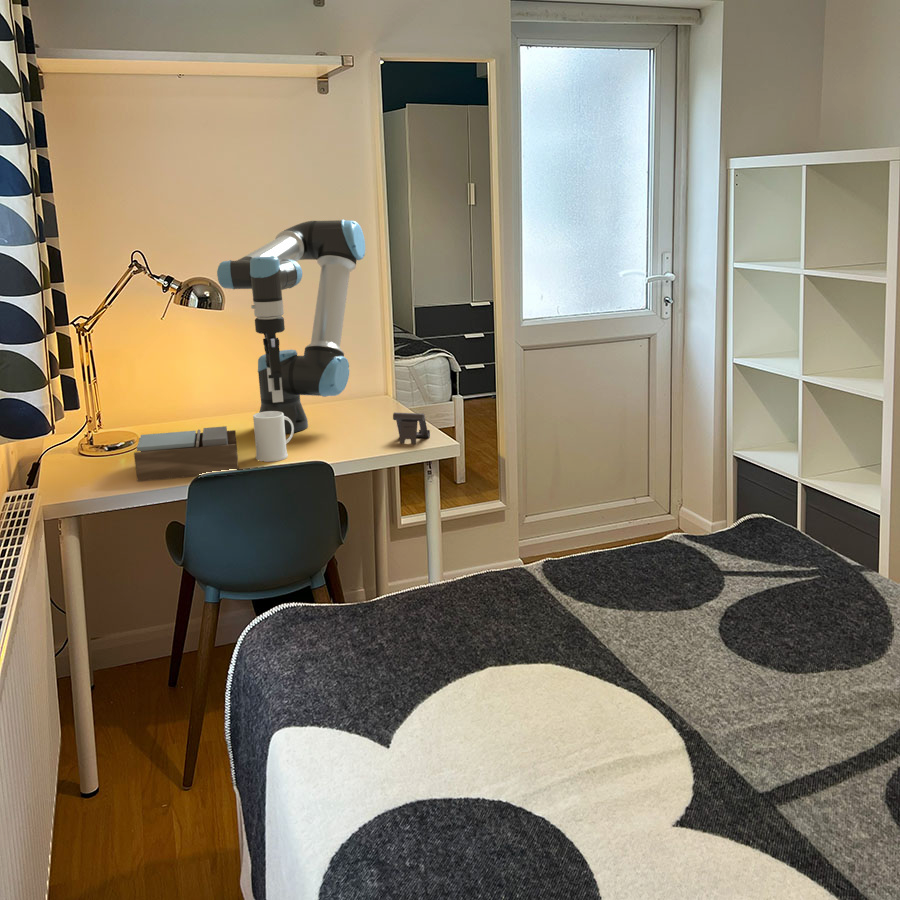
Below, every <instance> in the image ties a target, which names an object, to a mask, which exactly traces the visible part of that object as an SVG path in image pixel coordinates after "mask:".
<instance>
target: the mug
mask: <svg viewBox="0 0 900 900" xmlns="http://www.w3.org/2000/svg"><path fill="white" fill-rule="evenodd" d="M252 420H253V431H254V442H255V460H256V461H258V460H259V461H258V462H262V461H264V462H265V463H267V462H268V463H273V462H278V461H279V462H280V461H283V460H285V459H287V458H288V457H289V454H288V451H287V444H288V443H289V442H290V441H292V438H293V436H294V433H295V432H294V426H293V423H292V421H291V420H290V419H289V418H288V417H286V416H284V413H282V412H279V411H266V412H260V413H259V412H257V413H254V414H253V415H252ZM284 420H287V421H289V422H290V424H291V427H292V431H291V433H290V435H289V437H287V438H286V433H285V425H284Z"/></svg>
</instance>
